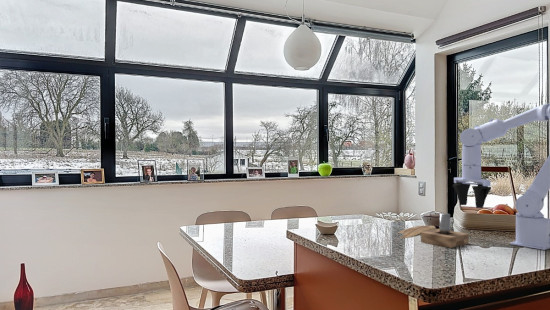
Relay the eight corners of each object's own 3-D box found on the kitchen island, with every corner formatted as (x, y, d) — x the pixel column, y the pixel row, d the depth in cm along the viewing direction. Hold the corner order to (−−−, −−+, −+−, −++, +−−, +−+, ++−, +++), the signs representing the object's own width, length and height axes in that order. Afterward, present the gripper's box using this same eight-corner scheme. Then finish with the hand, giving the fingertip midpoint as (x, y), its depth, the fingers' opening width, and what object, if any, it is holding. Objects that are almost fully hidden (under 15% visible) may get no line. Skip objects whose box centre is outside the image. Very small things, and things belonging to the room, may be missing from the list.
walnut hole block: (468, 243, 124) (468, 233, 124) (450, 247, 118) (450, 237, 118) (438, 238, 132) (439, 228, 132) (420, 241, 126) (420, 232, 126)
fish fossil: (416, 241, 129) (415, 237, 129) (386, 239, 135) (385, 236, 135) (439, 228, 149) (439, 225, 149) (412, 227, 155) (412, 224, 155)
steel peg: (451, 242, 125) (451, 214, 125) (446, 244, 123) (446, 214, 123) (442, 241, 127) (442, 212, 127) (437, 242, 125) (437, 213, 125)
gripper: (446, 164, 139) (446, 204, 139) (477, 166, 125) (476, 209, 125) (463, 164, 140) (463, 203, 140) (496, 166, 126) (495, 209, 126)
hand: (471, 206), depth 133 cm, fingers open, 7 cm apart
